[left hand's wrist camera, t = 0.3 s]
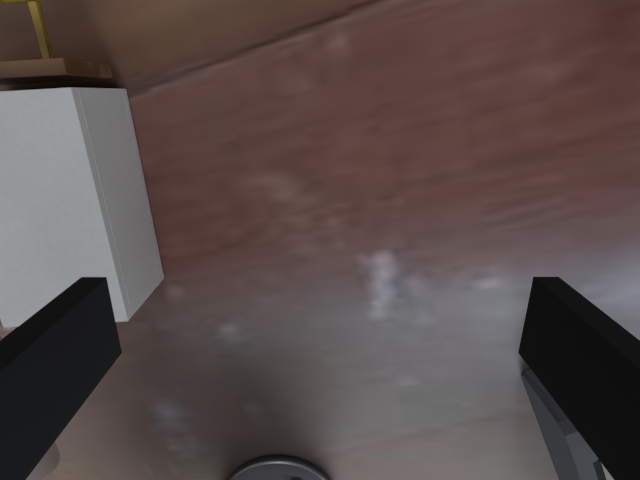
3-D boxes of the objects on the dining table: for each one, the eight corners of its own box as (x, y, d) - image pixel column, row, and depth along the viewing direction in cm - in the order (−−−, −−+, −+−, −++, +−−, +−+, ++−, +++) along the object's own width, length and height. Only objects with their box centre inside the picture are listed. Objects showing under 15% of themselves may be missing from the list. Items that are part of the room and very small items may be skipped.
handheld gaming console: (583, 486, 55) (638, 567, 46) (563, 492, 56) (613, 574, 46) (539, 357, 48) (592, 422, 39) (516, 366, 49) (563, 431, 39)
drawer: (-22, -2, 35) (-105, -25, 28) (94, -9, 35) (40, -35, 28) (55, 258, 43) (5, 289, 36) (149, 253, 43) (118, 283, 36)
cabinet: (8, 95, 39) (-82, 96, 30) (126, 88, 38) (70, 87, 30) (63, 283, 45) (3, 327, 37) (164, 278, 45) (127, 321, 36)
